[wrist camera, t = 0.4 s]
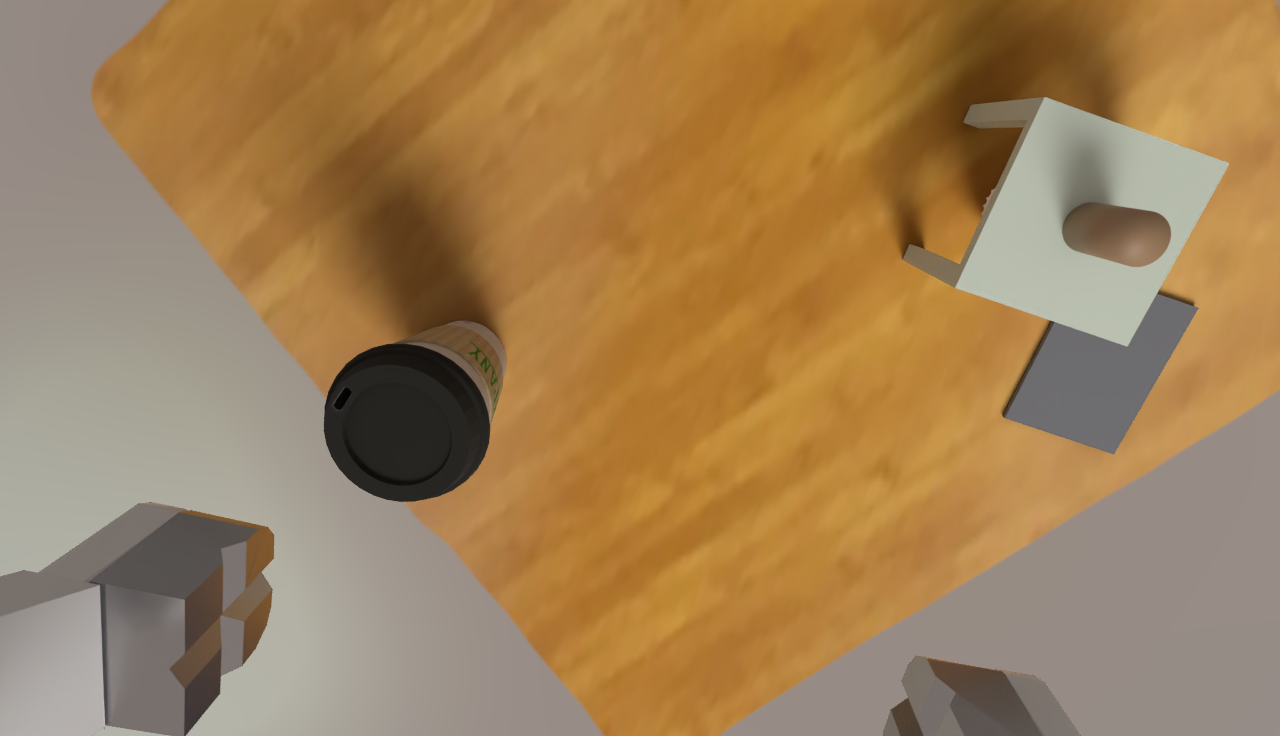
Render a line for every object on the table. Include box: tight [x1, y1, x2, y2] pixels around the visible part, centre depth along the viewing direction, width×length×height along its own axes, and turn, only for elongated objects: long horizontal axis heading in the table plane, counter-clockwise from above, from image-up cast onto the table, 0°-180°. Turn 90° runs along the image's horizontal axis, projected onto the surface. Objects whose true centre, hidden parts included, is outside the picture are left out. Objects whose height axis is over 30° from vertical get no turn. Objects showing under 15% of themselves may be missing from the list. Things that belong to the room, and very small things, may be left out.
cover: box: [903, 97, 1229, 346], centre depth 44 cm, size 11×11×15 cm
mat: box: [1003, 294, 1198, 454], centre depth 54 cm, size 12×9×1 cm
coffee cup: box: [324, 320, 507, 502], centre depth 49 cm, size 10×10×15 cm
